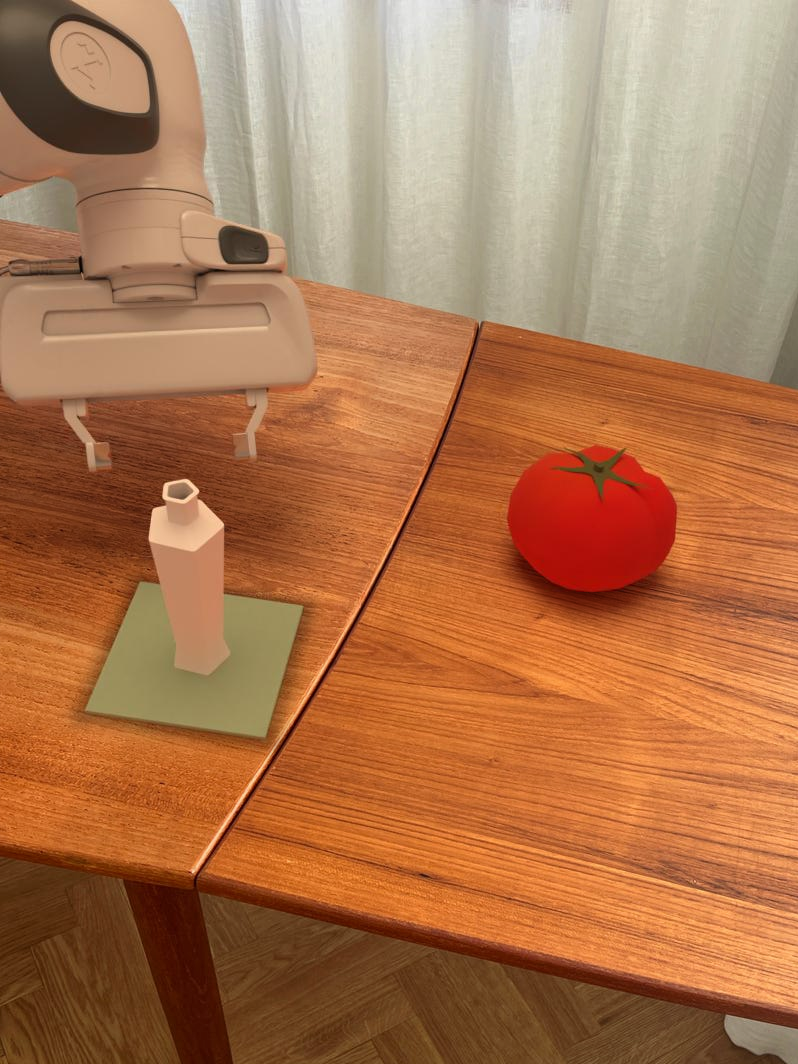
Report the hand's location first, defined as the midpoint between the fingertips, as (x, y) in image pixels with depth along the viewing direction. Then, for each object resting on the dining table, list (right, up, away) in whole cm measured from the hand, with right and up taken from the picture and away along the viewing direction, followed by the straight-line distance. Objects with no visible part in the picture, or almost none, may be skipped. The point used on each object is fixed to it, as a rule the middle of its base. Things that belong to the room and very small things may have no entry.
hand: (174, 466), depth 77 cm
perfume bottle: (+1, -13, +2) cm, 13 cm away
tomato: (+28, -6, +13) cm, 32 cm away
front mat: (+1, -13, +3) cm, 13 cm away
